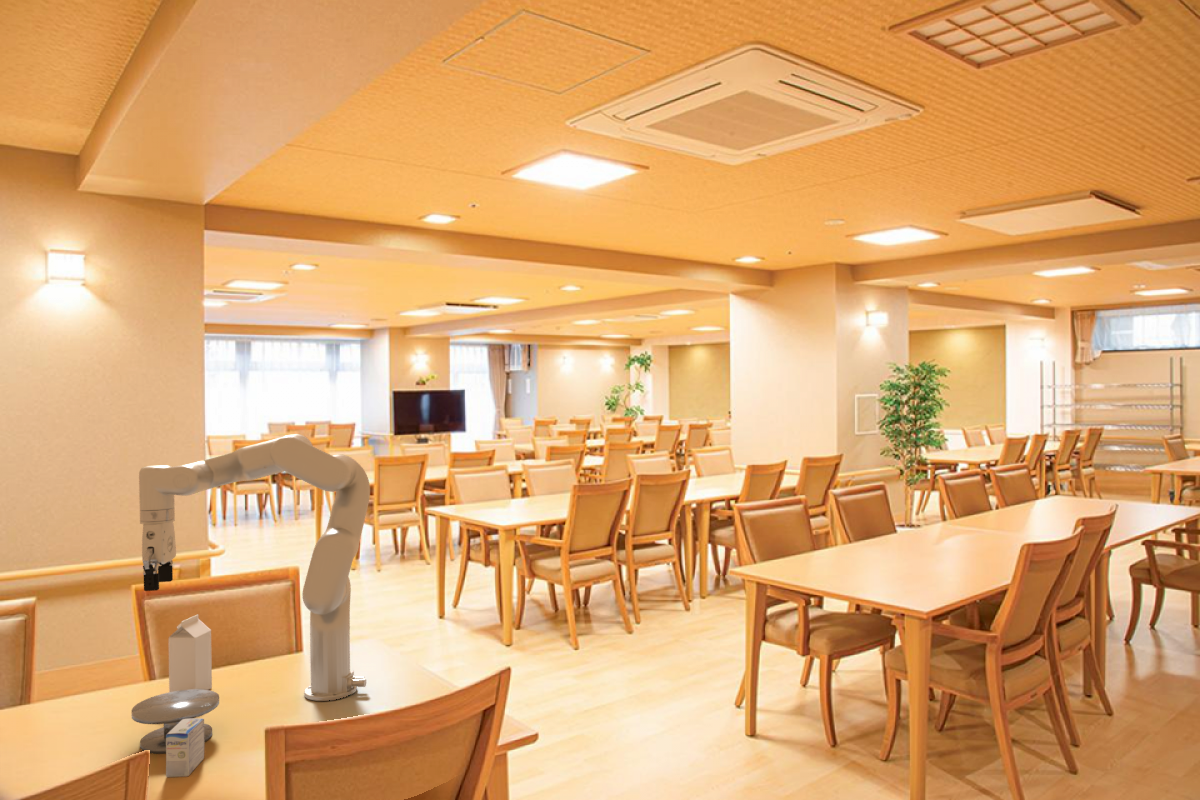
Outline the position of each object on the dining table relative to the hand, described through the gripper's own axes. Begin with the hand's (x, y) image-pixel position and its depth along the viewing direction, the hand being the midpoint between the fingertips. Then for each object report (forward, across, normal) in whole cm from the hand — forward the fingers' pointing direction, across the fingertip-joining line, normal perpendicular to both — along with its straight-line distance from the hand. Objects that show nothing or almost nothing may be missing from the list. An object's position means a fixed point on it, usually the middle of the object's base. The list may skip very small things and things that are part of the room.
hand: (158, 585), depth 199 cm
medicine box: (+29, -39, -17) cm, 52 cm away
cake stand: (+29, -24, -11) cm, 39 cm away
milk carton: (+29, +7, -5) cm, 30 cm away
